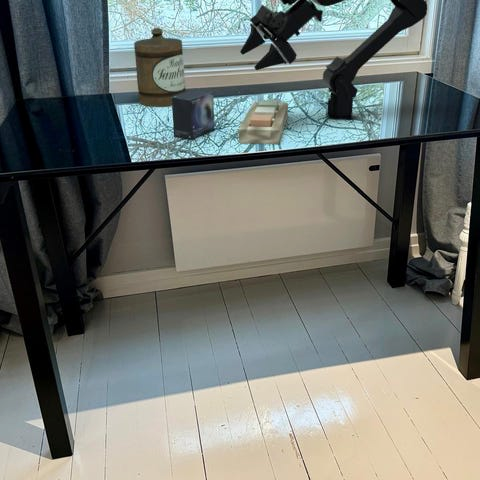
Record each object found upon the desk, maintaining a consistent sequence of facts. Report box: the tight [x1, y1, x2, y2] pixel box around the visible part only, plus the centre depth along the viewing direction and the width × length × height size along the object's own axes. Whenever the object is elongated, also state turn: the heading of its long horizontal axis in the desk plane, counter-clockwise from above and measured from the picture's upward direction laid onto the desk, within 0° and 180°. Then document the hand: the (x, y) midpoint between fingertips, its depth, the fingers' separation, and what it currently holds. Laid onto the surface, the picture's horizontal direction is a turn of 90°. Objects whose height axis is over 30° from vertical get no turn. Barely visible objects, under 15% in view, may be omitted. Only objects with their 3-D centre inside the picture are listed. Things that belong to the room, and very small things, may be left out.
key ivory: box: [254, 107, 275, 119], centre depth 149 cm, size 5×5×2 cm
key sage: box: [258, 99, 279, 111], centre depth 156 cm, size 5×5×2 cm
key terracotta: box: [250, 115, 272, 127], centre depth 143 cm, size 5×5×2 cm
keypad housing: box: [238, 101, 289, 145], centre depth 150 cm, size 10×26×4 cm, turn 171°
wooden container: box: [133, 27, 187, 108], centre depth 174 cm, size 15×15×22 cm
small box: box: [171, 88, 215, 140], centre depth 146 cm, size 11×6×10 cm, turn 148°
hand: (248, 60), depth 147 cm, fingers open, 9 cm apart
